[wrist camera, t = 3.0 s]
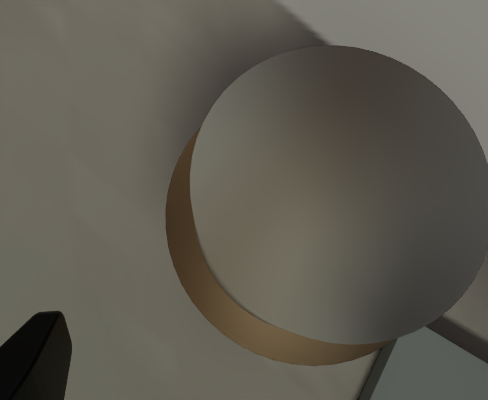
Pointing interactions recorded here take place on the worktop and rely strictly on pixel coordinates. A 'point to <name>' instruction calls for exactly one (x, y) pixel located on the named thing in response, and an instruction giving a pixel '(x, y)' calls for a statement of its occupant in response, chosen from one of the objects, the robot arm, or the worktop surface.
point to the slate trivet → (426, 371)
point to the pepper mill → (328, 206)
